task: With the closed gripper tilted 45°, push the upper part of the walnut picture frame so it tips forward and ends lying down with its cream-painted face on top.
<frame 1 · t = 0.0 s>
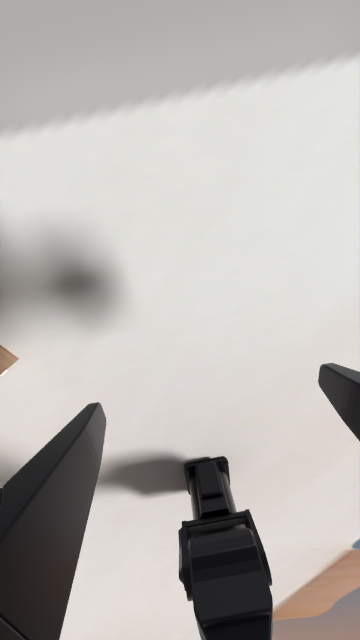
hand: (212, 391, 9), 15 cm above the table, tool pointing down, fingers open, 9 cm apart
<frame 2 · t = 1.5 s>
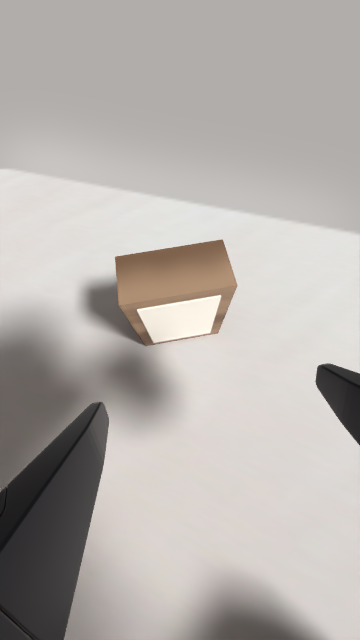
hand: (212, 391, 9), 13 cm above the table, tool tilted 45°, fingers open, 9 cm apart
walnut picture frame: (179, 322, 24), on the table
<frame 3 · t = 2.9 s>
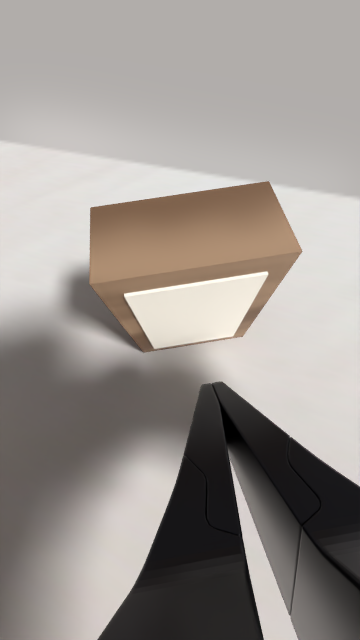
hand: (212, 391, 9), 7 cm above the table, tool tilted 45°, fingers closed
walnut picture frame: (189, 321, 18), on the table
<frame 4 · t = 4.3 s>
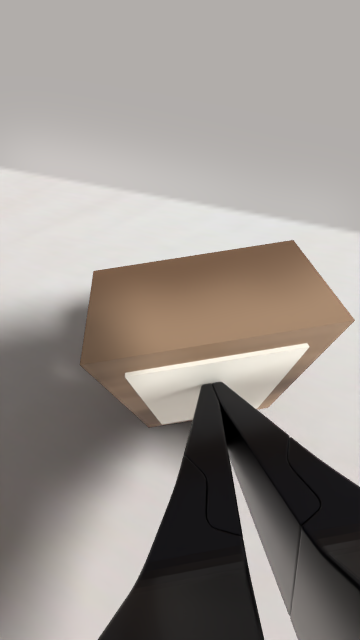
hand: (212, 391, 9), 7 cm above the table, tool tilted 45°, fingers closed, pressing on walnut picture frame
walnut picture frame: (202, 387, 15), on the table, tilted 12°, touching gripper
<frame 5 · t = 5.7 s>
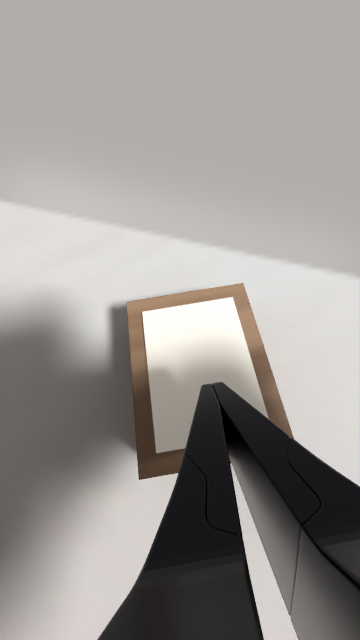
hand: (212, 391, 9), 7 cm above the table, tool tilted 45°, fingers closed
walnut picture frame: (214, 457, 12), point 2 cm above the table, tilted 90°
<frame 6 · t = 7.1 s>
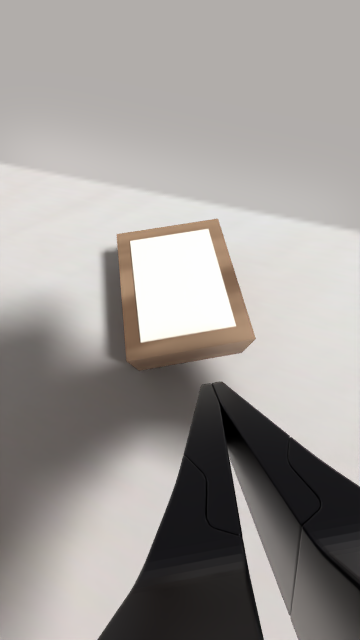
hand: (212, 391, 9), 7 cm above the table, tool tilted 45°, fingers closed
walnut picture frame: (191, 356, 15), point 2 cm above the table, tilted 90°
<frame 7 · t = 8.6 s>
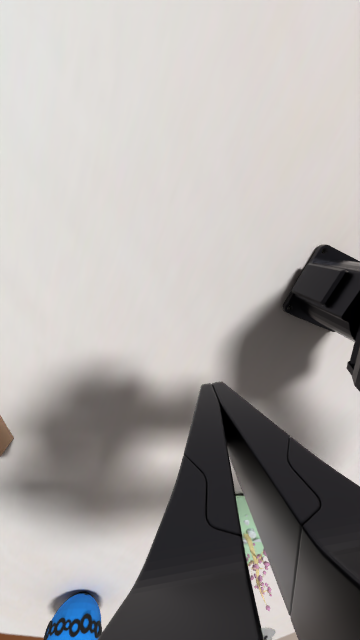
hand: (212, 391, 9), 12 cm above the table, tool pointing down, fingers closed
plant: (236, 532, 36), on the table
ornament: (83, 592, 38), on the table
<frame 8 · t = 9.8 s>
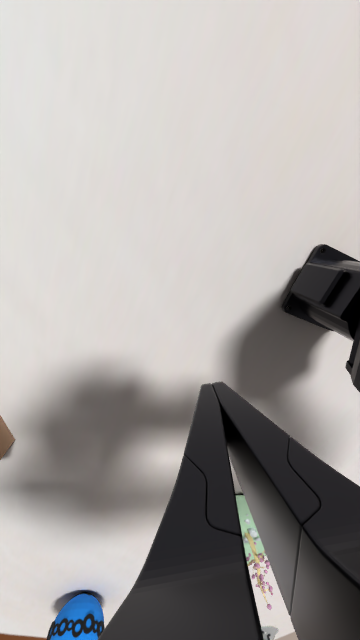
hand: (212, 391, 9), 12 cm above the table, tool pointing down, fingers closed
plant: (238, 531, 36), on the table
ornament: (85, 593, 38), on the table
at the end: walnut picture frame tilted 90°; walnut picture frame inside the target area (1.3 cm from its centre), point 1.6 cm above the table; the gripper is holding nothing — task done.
